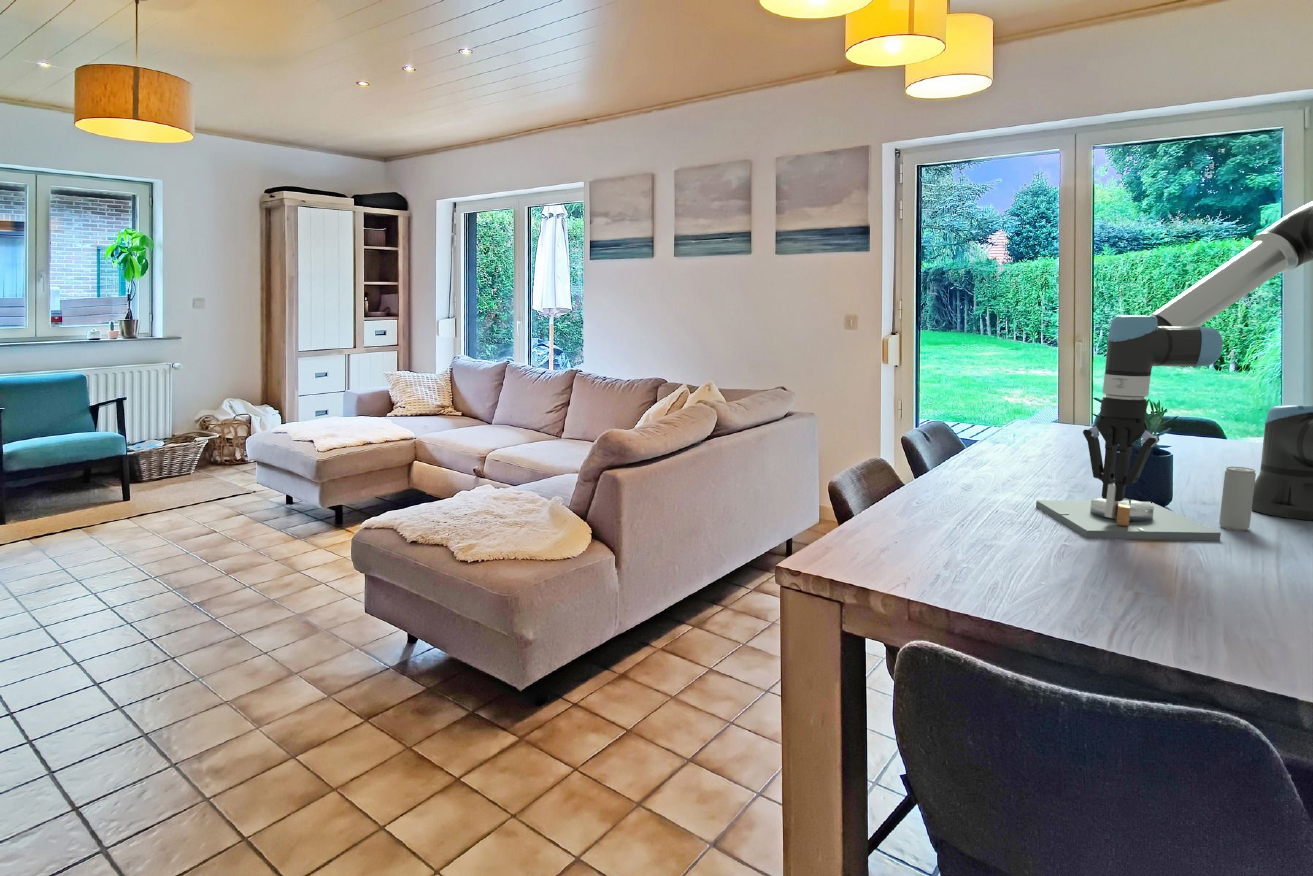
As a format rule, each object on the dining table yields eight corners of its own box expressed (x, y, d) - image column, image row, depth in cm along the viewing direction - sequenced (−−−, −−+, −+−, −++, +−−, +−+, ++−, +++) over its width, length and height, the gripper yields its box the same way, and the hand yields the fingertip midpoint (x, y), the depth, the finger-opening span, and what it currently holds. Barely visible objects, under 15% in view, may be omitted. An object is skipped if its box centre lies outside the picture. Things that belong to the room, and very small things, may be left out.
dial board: (1149, 508, 165) (1150, 500, 165) (1220, 540, 142) (1221, 531, 142) (1035, 506, 168) (1036, 498, 167) (1085, 538, 144) (1086, 529, 144)
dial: (1090, 504, 162) (1091, 488, 161) (1151, 510, 156) (1153, 494, 156) (1089, 521, 149) (1091, 504, 148) (1156, 529, 143) (1158, 510, 143)
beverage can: (1254, 532, 147) (1261, 471, 145) (1226, 530, 148) (1233, 471, 146) (1240, 525, 152) (1247, 466, 150) (1213, 524, 153) (1220, 466, 151)
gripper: (1080, 395, 147) (1068, 512, 151) (1155, 401, 137) (1140, 526, 141) (1096, 392, 151) (1083, 506, 156) (1169, 398, 142) (1154, 519, 146)
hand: (1110, 515), depth 148 cm, fingers closed
